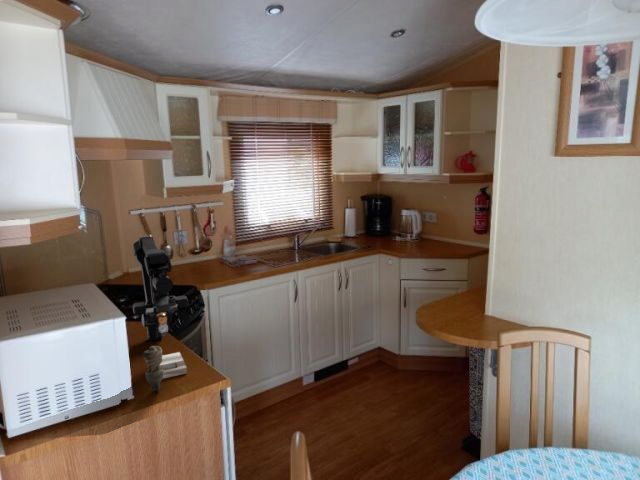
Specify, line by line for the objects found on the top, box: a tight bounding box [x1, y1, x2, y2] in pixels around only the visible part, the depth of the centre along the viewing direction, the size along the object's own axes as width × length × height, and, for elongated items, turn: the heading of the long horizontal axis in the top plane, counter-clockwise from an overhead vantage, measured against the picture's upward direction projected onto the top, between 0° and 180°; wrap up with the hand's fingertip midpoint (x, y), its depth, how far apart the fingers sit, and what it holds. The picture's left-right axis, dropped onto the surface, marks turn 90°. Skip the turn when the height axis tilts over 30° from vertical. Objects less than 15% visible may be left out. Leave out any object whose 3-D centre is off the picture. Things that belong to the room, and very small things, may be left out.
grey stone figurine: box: [142, 345, 164, 392], centre depth 142 cm, size 6×6×15 cm
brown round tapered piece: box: [156, 312, 169, 334], centre depth 166 cm, size 4×4×6 cm
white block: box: [160, 351, 188, 380], centre depth 159 cm, size 14×10×2 cm
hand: (163, 327), depth 166 cm, fingers closed on brown round tapered piece, 4 cm apart
